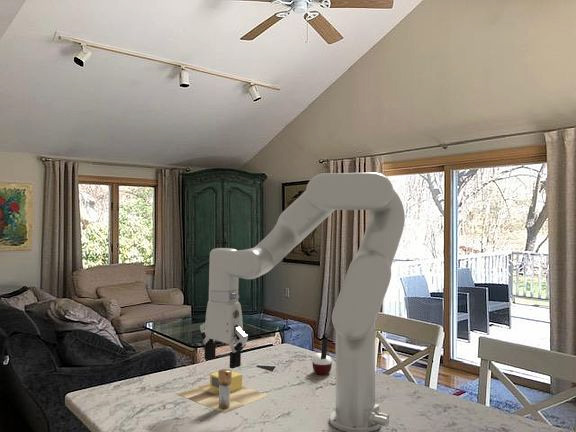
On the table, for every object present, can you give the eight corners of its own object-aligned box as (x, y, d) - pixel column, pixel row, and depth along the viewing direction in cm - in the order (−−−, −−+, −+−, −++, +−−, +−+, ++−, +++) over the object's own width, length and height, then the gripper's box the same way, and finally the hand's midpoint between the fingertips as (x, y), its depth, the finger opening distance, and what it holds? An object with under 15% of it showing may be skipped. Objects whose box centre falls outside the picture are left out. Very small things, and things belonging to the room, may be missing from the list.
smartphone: (244, 381, 143) (244, 378, 143) (257, 366, 158) (257, 363, 158) (267, 383, 142) (267, 379, 142) (278, 367, 157) (278, 364, 157)
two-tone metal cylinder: (233, 406, 120) (234, 370, 120) (224, 409, 117) (225, 373, 118) (223, 403, 122) (224, 368, 122) (214, 407, 119) (215, 371, 119)
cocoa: (314, 369, 154) (313, 333, 155) (333, 370, 153) (332, 333, 154) (310, 378, 145) (308, 339, 146) (330, 378, 144) (328, 339, 144)
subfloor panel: (268, 399, 127) (268, 394, 128) (224, 418, 115) (224, 413, 115) (220, 383, 141) (220, 379, 141) (176, 398, 128) (176, 393, 128)
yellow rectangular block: (242, 388, 133) (242, 374, 133) (225, 394, 128) (225, 379, 128) (226, 382, 137) (226, 369, 137) (209, 388, 133) (209, 374, 133)
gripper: (257, 298, 117) (256, 367, 117) (212, 291, 128) (211, 353, 128) (235, 302, 111) (234, 374, 111) (190, 293, 122) (189, 359, 122)
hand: (222, 363), depth 120 cm, fingers open, 9 cm apart
